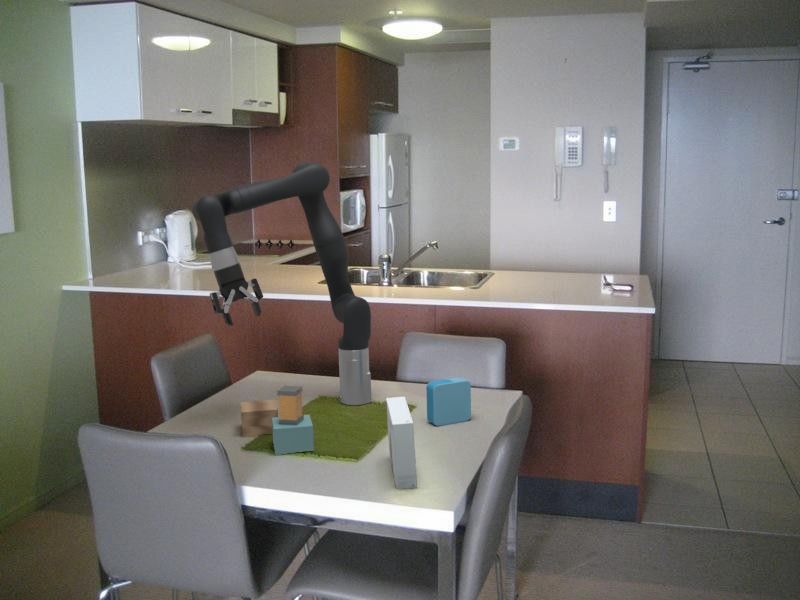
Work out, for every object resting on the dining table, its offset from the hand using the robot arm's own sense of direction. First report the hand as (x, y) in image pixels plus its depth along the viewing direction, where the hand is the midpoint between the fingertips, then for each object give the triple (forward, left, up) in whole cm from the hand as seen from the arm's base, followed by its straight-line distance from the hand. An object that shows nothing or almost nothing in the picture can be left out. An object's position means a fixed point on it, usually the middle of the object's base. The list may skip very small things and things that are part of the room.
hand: (244, 320), depth 239 cm
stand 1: (-3, +5, -30) cm, 31 cm away
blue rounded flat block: (-56, +12, -31) cm, 65 cm away
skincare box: (-35, +47, -31) cm, 66 cm away
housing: (-10, +23, -23) cm, 34 cm away
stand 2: (-11, +22, -30) cm, 39 cm away
